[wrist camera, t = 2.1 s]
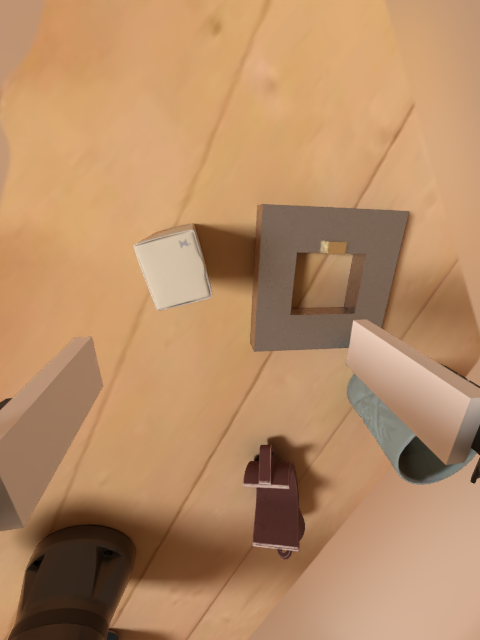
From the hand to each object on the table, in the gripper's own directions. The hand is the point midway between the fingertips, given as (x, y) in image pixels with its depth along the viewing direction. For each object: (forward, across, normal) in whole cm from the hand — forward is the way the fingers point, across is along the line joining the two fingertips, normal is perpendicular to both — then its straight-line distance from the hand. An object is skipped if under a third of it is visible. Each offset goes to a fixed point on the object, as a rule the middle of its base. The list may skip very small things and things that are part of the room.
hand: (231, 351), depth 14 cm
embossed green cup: (+18, +23, -17) cm, 34 cm away
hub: (+18, +13, -1) cm, 22 cm away
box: (+18, -3, +3) cm, 19 cm away
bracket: (+18, +8, -33) cm, 38 cm away
